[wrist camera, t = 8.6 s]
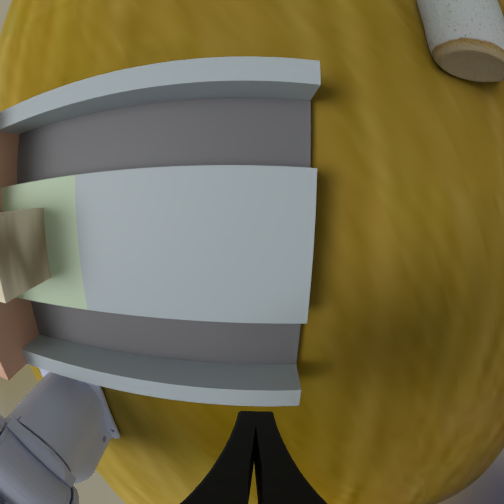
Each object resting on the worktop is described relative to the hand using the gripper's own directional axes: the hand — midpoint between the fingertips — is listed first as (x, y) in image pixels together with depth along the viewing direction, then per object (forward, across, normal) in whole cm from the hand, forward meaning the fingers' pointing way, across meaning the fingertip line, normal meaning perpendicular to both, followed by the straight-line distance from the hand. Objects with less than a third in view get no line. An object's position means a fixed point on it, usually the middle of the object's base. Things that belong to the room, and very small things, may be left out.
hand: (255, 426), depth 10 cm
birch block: (+7, +17, -6) cm, 19 cm away
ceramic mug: (+10, -16, -24) cm, 31 cm away
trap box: (+9, +9, -6) cm, 14 cm away
